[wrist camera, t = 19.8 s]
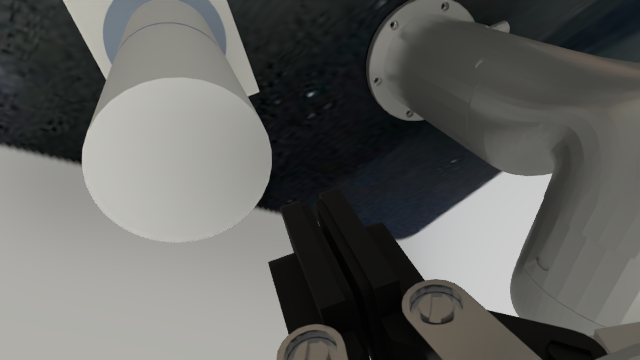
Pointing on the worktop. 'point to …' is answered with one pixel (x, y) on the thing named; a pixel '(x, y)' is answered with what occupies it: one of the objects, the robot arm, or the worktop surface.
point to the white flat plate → (120, 3)
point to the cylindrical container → (174, 132)
